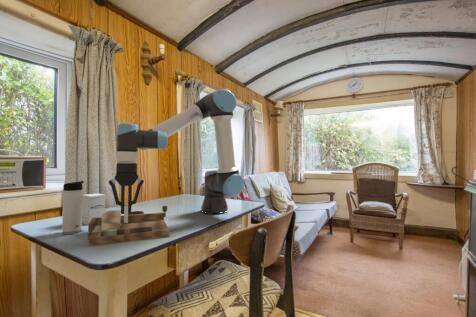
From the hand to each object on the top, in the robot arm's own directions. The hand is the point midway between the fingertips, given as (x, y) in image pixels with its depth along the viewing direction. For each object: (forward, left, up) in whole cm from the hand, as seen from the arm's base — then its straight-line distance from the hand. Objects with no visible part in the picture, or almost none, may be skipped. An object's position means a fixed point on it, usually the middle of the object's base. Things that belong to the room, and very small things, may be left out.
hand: (125, 221), depth 94 cm
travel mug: (+19, -8, -4) cm, 21 cm away
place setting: (-8, -15, -5) cm, 18 cm away
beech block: (+5, 0, -2) cm, 5 cm away
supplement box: (+14, -22, -4) cm, 26 cm away
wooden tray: (-2, +3, -4) cm, 6 cm away
